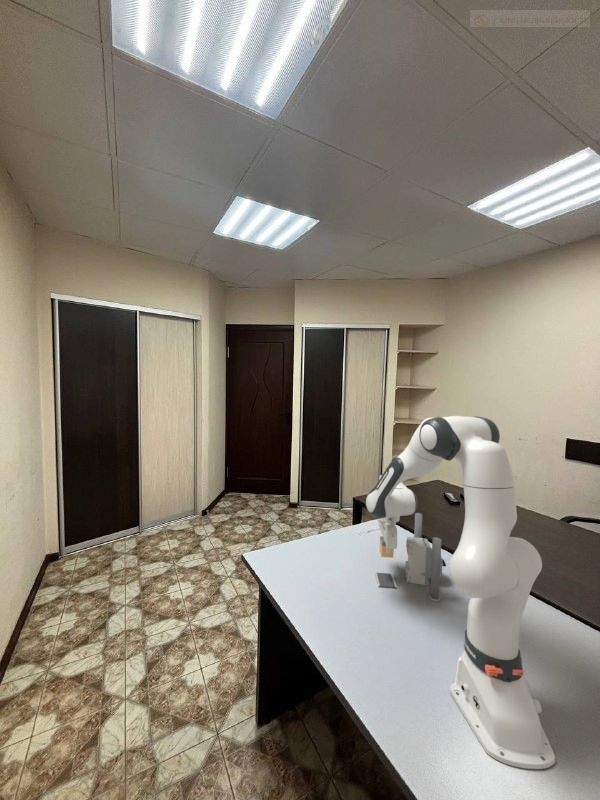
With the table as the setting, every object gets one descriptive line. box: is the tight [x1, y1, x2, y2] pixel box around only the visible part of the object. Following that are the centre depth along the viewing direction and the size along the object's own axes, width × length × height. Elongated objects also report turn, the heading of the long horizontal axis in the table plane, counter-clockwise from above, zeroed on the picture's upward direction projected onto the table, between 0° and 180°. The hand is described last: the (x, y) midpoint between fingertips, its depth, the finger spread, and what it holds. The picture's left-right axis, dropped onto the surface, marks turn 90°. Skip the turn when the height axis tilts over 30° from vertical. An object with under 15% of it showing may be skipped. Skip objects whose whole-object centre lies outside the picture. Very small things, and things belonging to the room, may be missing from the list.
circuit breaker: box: [404, 536, 447, 586], centre depth 129 cm, size 8×14×15 cm, turn 78°
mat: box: [374, 572, 398, 590], centre depth 128 cm, size 9×7×1 cm
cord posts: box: [413, 512, 442, 603], centre depth 129 cm, size 27×4×22 cm, turn 175°
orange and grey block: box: [379, 535, 395, 559], centre depth 127 cm, size 4×4×6 cm
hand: (386, 548), depth 127 cm, fingers closed on orange and grey block, 4 cm apart
